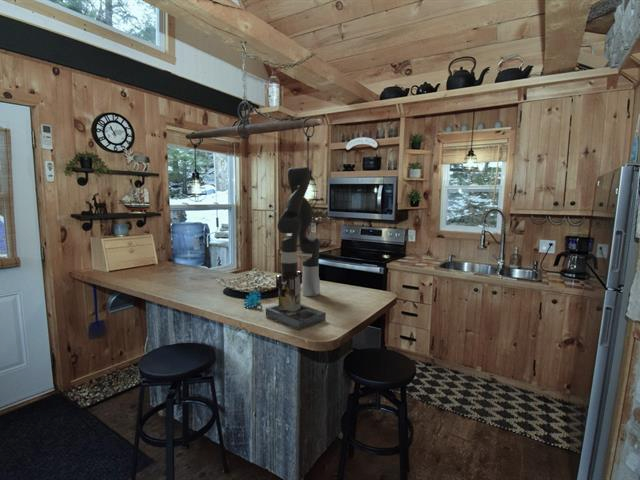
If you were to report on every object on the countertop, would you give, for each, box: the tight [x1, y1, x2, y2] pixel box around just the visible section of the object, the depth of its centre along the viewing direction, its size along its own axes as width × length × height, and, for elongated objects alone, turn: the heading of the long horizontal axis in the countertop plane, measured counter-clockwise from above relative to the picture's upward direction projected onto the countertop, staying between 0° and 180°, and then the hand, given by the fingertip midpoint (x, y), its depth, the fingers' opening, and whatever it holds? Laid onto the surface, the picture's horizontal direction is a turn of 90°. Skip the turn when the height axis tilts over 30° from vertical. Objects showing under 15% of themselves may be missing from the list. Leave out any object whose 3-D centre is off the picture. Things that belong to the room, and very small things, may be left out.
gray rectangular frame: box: [265, 304, 327, 331], centre depth 159 cm, size 16×24×4 cm, turn 45°
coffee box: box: [277, 275, 302, 312], centre depth 161 cm, size 9×6×16 cm
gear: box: [243, 290, 264, 309], centre depth 177 cm, size 11×6×10 cm
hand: (289, 294), depth 161 cm, fingers closed on coffee box, 8 cm apart
